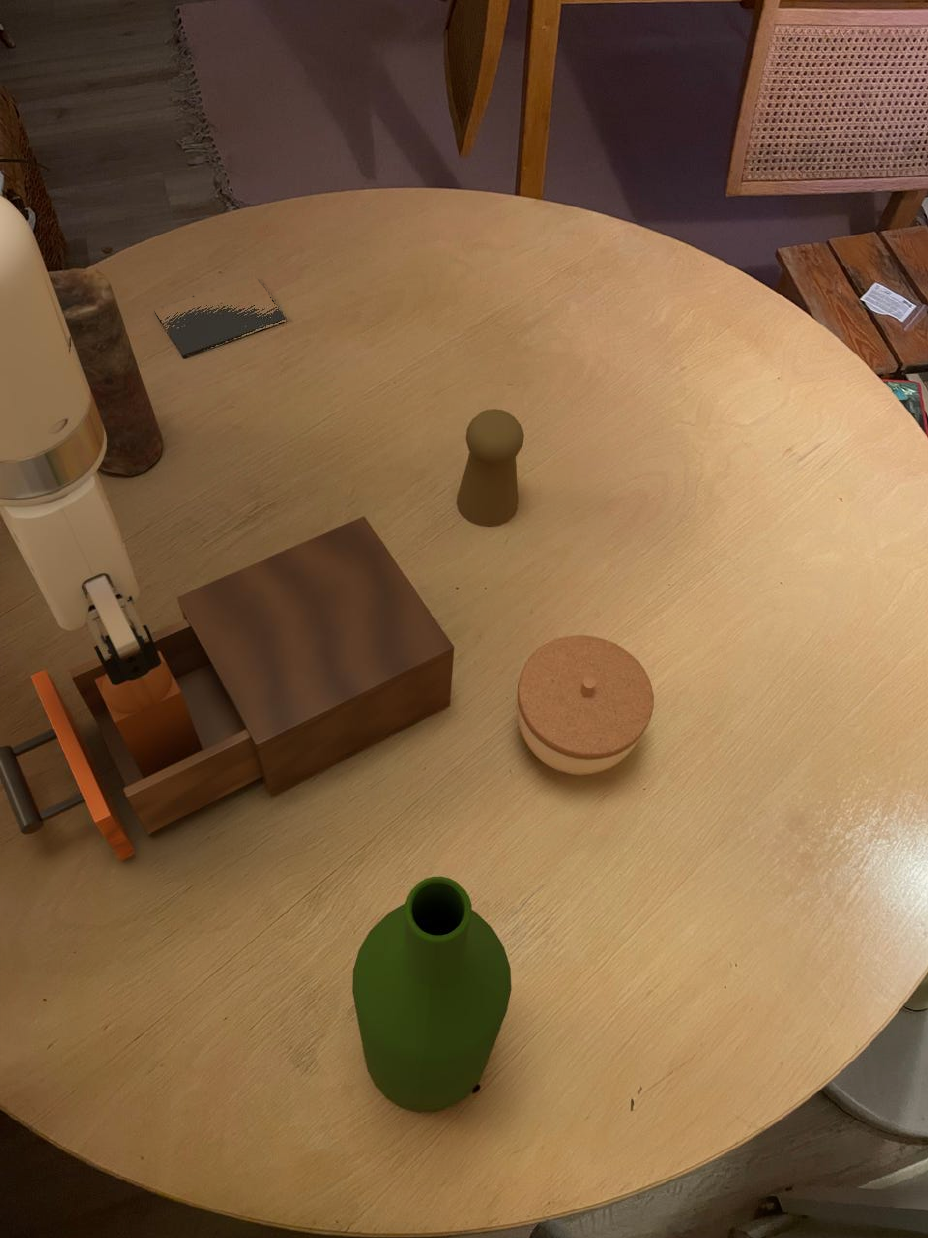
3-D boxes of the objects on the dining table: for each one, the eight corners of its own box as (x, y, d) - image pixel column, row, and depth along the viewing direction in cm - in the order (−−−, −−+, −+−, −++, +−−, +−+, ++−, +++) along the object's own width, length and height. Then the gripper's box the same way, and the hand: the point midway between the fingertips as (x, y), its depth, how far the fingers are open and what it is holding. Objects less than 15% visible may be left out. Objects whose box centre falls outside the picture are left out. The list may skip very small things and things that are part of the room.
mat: (183, 358, 109) (182, 355, 109) (154, 312, 113) (153, 309, 113) (286, 321, 113) (286, 318, 113) (255, 278, 117) (254, 274, 116)
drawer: (56, 893, 78) (24, 857, 71) (-2, 750, 84) (-37, 704, 77) (304, 767, 84) (296, 723, 77) (234, 642, 90) (221, 591, 83)
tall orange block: (144, 779, 82) (107, 709, 72) (125, 739, 83) (87, 665, 73) (203, 751, 83) (176, 678, 73) (184, 712, 85) (154, 636, 75)
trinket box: (542, 661, 92) (555, 602, 84) (654, 713, 89) (679, 658, 81) (488, 758, 86) (496, 706, 78) (605, 817, 84) (626, 769, 76)
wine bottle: (477, 972, 77) (517, 802, 50) (498, 1102, 72) (554, 995, 45) (357, 990, 76) (330, 826, 48) (371, 1123, 71) (348, 1026, 44)
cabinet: (271, 797, 84) (256, 745, 75) (197, 659, 90) (176, 597, 82) (450, 706, 89) (454, 647, 81) (367, 581, 95) (364, 515, 87)
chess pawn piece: (447, 486, 102) (452, 407, 93) (504, 471, 103) (514, 392, 94) (469, 533, 99) (476, 456, 90) (527, 517, 100) (540, 440, 91)
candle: (72, 468, 101) (4, 306, 84) (104, 415, 105) (45, 249, 88) (146, 485, 100) (93, 325, 83) (175, 431, 104) (130, 267, 87)
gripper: (-100, 350, 55) (7, 544, 69) (4, 583, 47) (100, 747, 62) (39, 304, 57) (114, 501, 72) (160, 520, 50) (217, 692, 64)
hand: (108, 615), depth 67 cm, fingers open, 9 cm apart
